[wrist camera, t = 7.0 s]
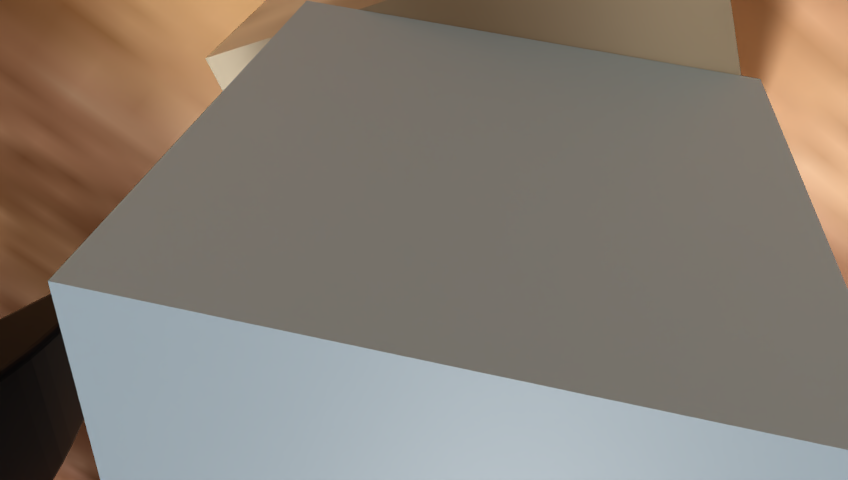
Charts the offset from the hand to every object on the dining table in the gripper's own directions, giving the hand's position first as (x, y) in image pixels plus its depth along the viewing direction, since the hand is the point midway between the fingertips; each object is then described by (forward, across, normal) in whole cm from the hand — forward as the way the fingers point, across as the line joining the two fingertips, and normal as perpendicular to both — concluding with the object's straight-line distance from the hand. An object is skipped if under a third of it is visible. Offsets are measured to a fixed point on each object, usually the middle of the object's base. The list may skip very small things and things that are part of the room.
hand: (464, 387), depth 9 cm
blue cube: (+3, 0, 0) cm, 3 cm away
